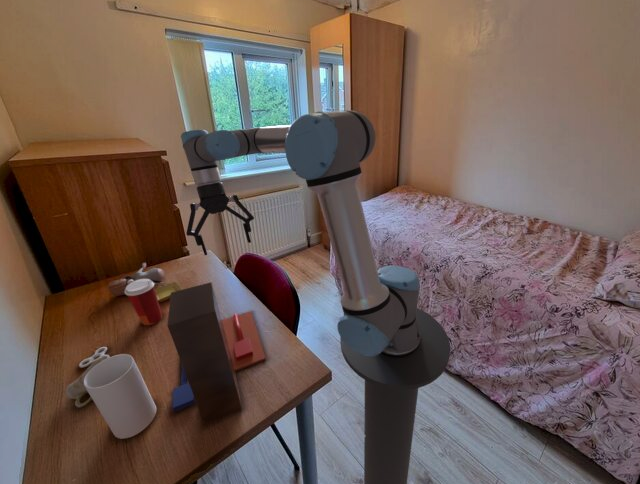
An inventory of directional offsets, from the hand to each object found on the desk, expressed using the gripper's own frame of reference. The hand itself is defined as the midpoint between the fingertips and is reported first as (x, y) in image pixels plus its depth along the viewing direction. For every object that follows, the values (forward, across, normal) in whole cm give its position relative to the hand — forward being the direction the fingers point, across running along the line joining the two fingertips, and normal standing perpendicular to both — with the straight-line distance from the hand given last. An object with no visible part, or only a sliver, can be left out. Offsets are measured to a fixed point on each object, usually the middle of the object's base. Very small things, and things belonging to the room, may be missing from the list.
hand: (228, 247), depth 93 cm
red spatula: (+24, +4, +13) cm, 28 cm away
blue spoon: (+26, +20, +19) cm, 38 cm away
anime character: (+14, +33, -34) cm, 49 cm away
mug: (+23, +39, +12) cm, 47 cm away
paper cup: (+19, +28, -10) cm, 36 cm away
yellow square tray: (+17, +24, -22) cm, 37 cm away
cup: (+27, +30, +26) cm, 48 cm away
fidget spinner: (+20, +41, 0) cm, 46 cm away
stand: (+28, +12, +30) cm, 43 cm away
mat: (+25, +5, +14) cm, 29 cm away
